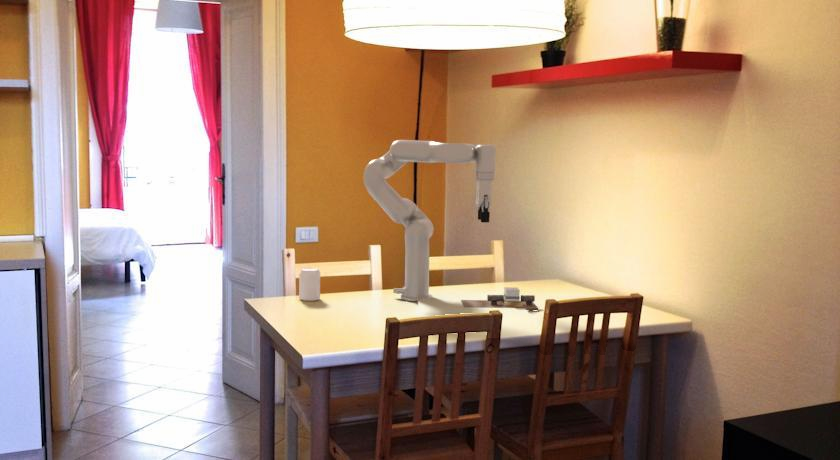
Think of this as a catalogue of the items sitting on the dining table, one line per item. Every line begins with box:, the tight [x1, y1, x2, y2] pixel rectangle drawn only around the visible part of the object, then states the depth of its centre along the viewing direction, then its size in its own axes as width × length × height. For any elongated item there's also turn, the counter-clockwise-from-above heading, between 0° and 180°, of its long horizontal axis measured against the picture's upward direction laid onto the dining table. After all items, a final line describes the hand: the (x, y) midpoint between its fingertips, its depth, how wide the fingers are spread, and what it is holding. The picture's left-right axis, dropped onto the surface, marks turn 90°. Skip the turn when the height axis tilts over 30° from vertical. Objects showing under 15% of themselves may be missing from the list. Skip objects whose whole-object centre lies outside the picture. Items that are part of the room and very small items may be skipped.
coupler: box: [503, 287, 521, 302], centre depth 306 cm, size 5×5×6 cm
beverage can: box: [298, 267, 321, 302], centre depth 311 cm, size 8×8×12 cm
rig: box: [460, 294, 539, 311], centre depth 306 cm, size 28×13×5 cm, turn 93°
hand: (483, 220), depth 309 cm, fingers open, 9 cm apart
